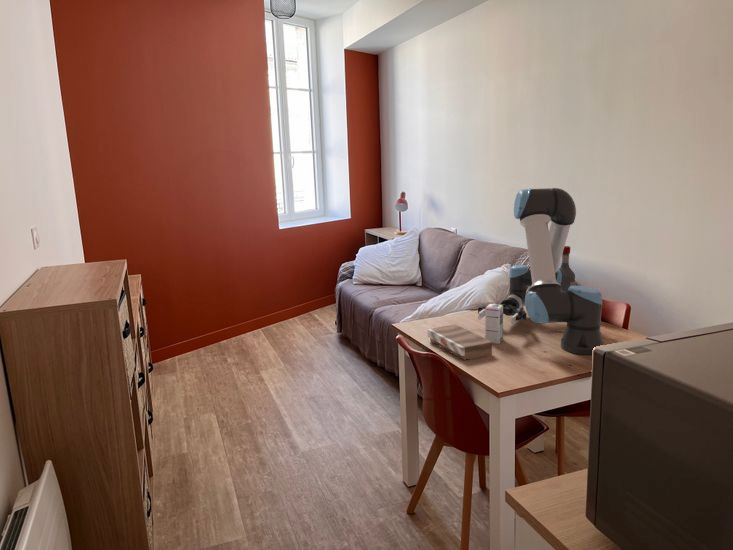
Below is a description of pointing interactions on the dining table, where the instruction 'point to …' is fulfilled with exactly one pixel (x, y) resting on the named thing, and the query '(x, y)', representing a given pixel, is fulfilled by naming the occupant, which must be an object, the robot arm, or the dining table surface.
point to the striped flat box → (461, 341)
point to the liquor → (566, 271)
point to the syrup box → (494, 323)
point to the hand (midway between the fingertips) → (495, 318)
